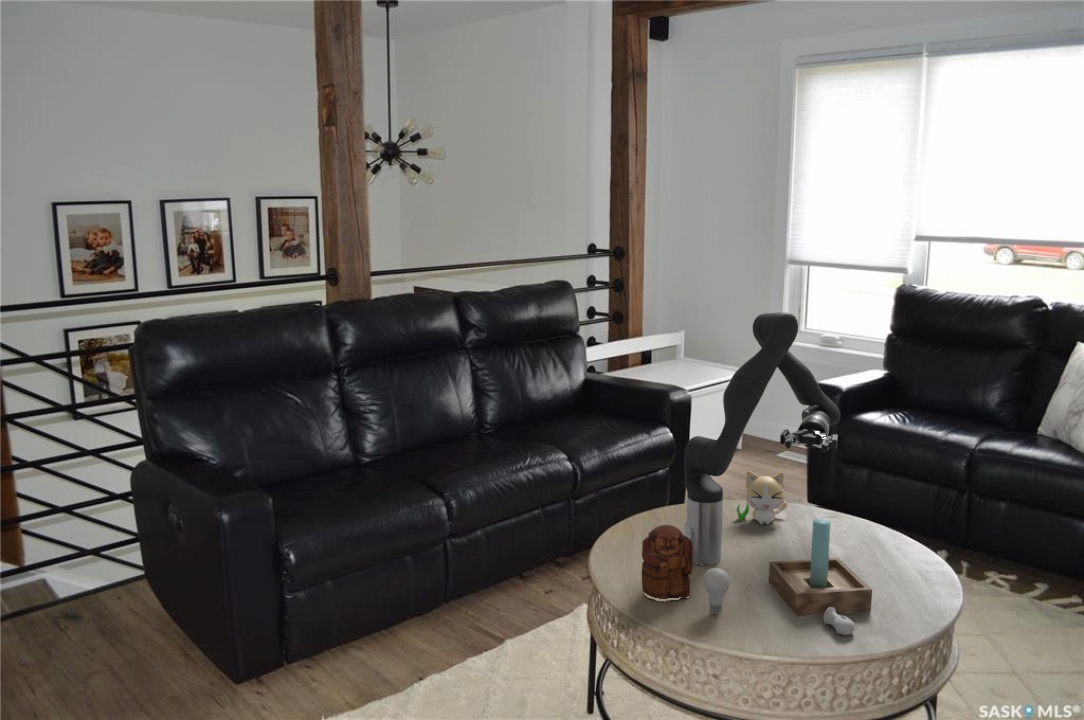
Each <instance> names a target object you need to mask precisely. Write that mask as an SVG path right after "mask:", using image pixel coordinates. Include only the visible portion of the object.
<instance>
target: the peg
mask: <svg viewBox="0 0 1084 720" xmlns="http://www.w3.org/2000/svg"><path fill="white" fill-rule="evenodd" d="M811 532H812V535H811V549H810V550H811V552H810V559H811V569H810V587H811V588H812V589H816V588H827V578H828V560H829V558H830V557H829V556H830V542H831V541H830V538H831V521H830V520H827V519H825V518H816V519H813V520H812V531H811Z"/></svg>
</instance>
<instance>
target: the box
mask: <svg viewBox="0 0 1084 720" xmlns="http://www.w3.org/2000/svg"><path fill="white" fill-rule="evenodd" d="M810 569H811V558H810V559H795V560H792V559H791V560H779V561H778V560H777V561H774V560H773V561H769V563H768V584H769V585H770V586H771V587H772V588H773V590H774V589H775V590H774V591H775V592H776V593H777V595H778V596H779V597H780V598H781V600H782V601H783V602H784V604H786V606H787V607H788V606H789V607H788V608H789V609H790V611H791V612H792V613H793V614H794V615H795V616H796V617H805V616H807V615H810V616H824V613H825V611H826V610H827V609H828V608H829V607H834V608H835V610H836V613H837V614H838V615H840V614H851V613H850V612H855V613H865V611H870V612H872V598H873V597H872V596H873V588H871V587H870V586H869V585H868V584H867V583H866V582H865V581H864V580H863V579H862V578H860V576H859V575H857V574H856V573H855V572H854V571H853V570H852V569H851V568H850V567H849V566H848V565H847V564H846V563H845V562H844V561H842V560H841V558H839V557H829V560H828V578H827V588H816V589H812V588H811V587H810Z"/></svg>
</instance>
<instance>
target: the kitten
mask: <svg viewBox="0 0 1084 720" xmlns="http://www.w3.org/2000/svg"><path fill="white" fill-rule="evenodd" d="M784 479H785V478H784V472H783V471H780V472H778V473H777V474H774V475H773V476H768V475H761V476H759V475H757V474H756V473H753V472H752V471H751V470H748V471H746V482H745V488H746V493H745V500H746V505H745V506H746V507H745V510H744V511H742V512H740V506H741V504H738V506H737V508H736V512H737V519H738V518H739V519H738V520H742V521H743V519H742V518H745V519H746V516H747V515H749V511H750V507H751V508H753V510H752V511H753V512H752V518H753V519H754V521H757V522H758V523H759V524H760V525H763V524H765V525H767V524H768V525H770V523H771V522H773V521H775V519H776V515H779V514H780V513H781V512H783V511H784V510H785V509H787V507H788V502H787V501H786V500H785V493H784V492H785V491H784V486H785V485H784Z"/></svg>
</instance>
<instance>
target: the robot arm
mask: <svg viewBox="0 0 1084 720" xmlns="http://www.w3.org/2000/svg"><path fill="white" fill-rule="evenodd" d="M798 332H799V321H798V319H797V317H796V316H795V315H794V314H793V313H791V312H786V311H785V312H783V311H782V312H765V313H761V314H759V315H757V316H756V317H755V319H754V321H753V323H752V334H753V337H754V338H755V340H756V342H757V344H758V345H759V346H760V347H761V348H760V350H758V351H757V352H756V354H754V355H753V356H752V357H750V358H749V359H747V361H746V362H744V363H743V364H742V365H741V366H739V368H738V369H737V370H736V371H735V372H734V374H733V375H732V377H731V379H730V381H729V383H728V384H727V386H726V388H725V390H724V392H723V395H722V403H723V405H722V406H723V411H724V412H723V413H724V425H723V428H722V431H721V432H720V433H719V436H718V438H717V439H713V438H709V437H705V436H700V435H695V436H693V437H691V438H690V439H689V440H688V442H687V444H686V447H685V449H684V456H683V458H684V459H683V461H684V463H683V464H684V467H683V468H684V486H685V489H686V496H687V499H686V500H687V501H686V521H684V527H683V529H684V530H683V535H684V536H687V537H688V538H690V540H691V541H692V546H693V559H692V561H693V563H697V564H696V565H698V564H703V565H702V566H714V565H717V564H719V563H720V562H721V561H722V540H723V539H722V535H723V505H724V504H723V503H724V502H723V501H724V491H723V490H724V489H723V487H722V486H721V485H720V484H719V483H717V481H716V480H714V478H712V477H720V476H722V475H723V474H724V473H725V472H726V471H727V470H728V468H729V467H730V465H731V462H732V460H733V458H734V456H735V453H736V451H737V448H738V445H739V443H740V440H741V438H742V435H743V433H744V431H745V428H746V427H747V424H748V423H749V421H750V419H751V417H752V415H753V413H754V412H755V410H756V408H757V407H758V404H759V403H760V401H761V399H762V397H763V394H764V393H765V391H766V389H767V386H768V384H769V383H770V381H771V379H772V377H773V375H774V374H775V372H776V370H777V369H778V370H779V371H780V373H781V374H782V375H783V377H784V378H785V380H786V381H787V383H788V385H789V387H790V388H791V391H792V392H793V394H794V396H795V398H796V399H797V401H798V403H800V404H801V405H803V406H808V407H806V408H805V409H803V410H802V412H801V420H802V422H800V424H799V426H798V428H797V431H794V432H791V431H790V430H789V429H787V428H786V429H784V430H783V431H782V432H781V433H780V435H779V437H780V438H779V439H780V441H779V444H780V445H784V447H785V448H786V449H787V450H790V449H791V448H792V446H796V447H797V446H798V447H799V446H804V447H805V448H809V449H817V448H819V449H821V451H820V452H821V453H825V452H827V451H828V450H829V449H832V450H837V447H838V437H839V436H838V434H837V433H834V434H831V435H830V436H828V435H829V431H830V427H831V426H834V425H836V424H838V423H839V422H840V420H841V410H840V408H839V407H838V406H837V404H836V403H835V402H834V401H833V400H832V399H831V398H830V397H829V396H827V395H826V393H824V391H823V390H822V389H821V387H820V385H819V382H817V380H816V378H815V376H814V374H813V373H812V372H811V370H810V369H809V368H808V367H807V366H806V365H805V364H804V363H803V362H802V361H801V360H799V358H797V357H796V356H795V355H794V354H792V352H791V351H789V350H790V348H791V347H792V345H793V344H794V342H795V340H796V338H797V335H798ZM713 564H714V565H713Z"/></svg>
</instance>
